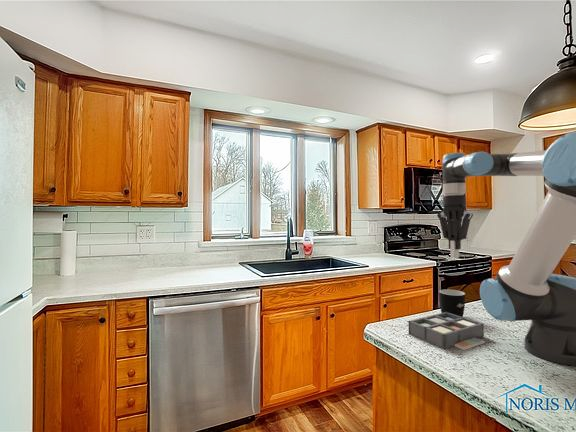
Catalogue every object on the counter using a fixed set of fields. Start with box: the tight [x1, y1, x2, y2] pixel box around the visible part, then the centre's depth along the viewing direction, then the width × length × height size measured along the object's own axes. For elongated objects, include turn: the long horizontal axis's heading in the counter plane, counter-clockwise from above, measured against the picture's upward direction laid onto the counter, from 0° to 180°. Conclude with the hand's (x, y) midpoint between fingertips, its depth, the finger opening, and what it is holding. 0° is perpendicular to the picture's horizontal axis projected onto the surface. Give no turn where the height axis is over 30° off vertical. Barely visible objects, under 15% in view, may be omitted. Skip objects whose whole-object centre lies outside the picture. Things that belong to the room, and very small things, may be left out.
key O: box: [458, 320, 475, 326], centre depth 102 cm, size 4×4×2 cm
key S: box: [431, 326, 452, 333], centre depth 96 cm, size 4×4×2 cm
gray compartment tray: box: [408, 312, 486, 351], centre depth 100 cm, size 17×20×4 cm
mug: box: [438, 289, 466, 317], centre depth 119 cm, size 12×9×10 cm
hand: (454, 257), depth 113 cm, fingers closed
